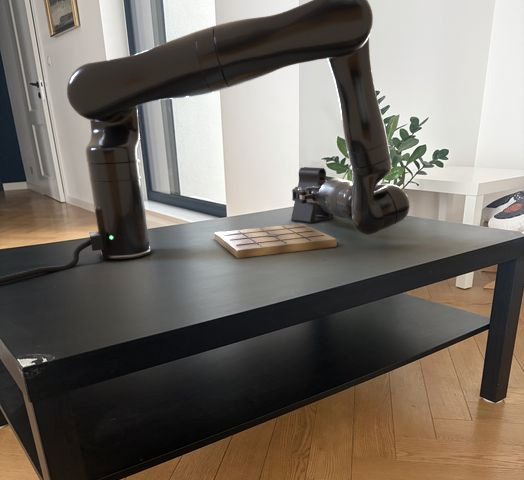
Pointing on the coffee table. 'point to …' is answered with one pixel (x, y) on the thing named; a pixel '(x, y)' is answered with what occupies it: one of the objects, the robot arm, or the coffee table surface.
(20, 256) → the coffee table surface
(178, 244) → the coffee table surface
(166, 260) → the coffee table surface
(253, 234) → the board
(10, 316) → the coffee table surface
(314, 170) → the phone stand
